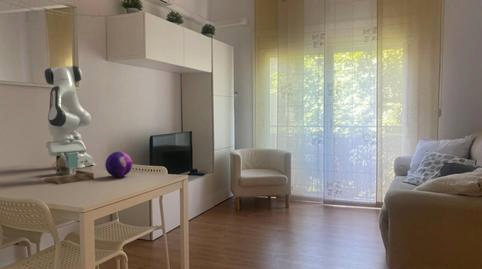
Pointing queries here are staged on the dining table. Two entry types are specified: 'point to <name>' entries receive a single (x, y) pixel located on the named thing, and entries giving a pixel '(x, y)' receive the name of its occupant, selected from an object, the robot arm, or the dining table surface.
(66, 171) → the coffee box
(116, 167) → the decorative orb
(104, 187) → the dining table surface
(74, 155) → the teal block
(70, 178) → the tray
